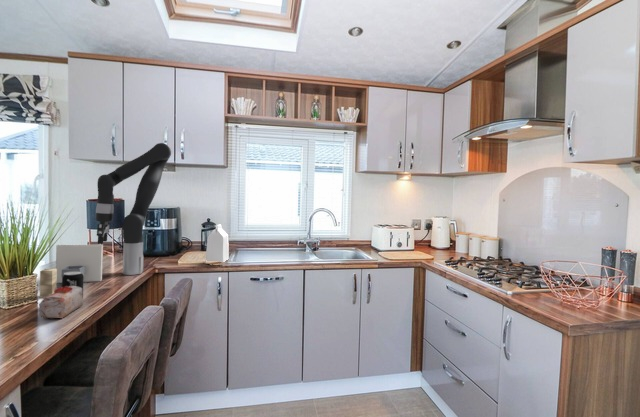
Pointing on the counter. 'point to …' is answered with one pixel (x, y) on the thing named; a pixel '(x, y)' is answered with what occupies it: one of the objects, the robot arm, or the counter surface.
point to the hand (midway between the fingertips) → (102, 242)
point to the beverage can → (73, 279)
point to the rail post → (48, 282)
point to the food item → (61, 302)
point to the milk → (218, 245)
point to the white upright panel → (80, 261)
